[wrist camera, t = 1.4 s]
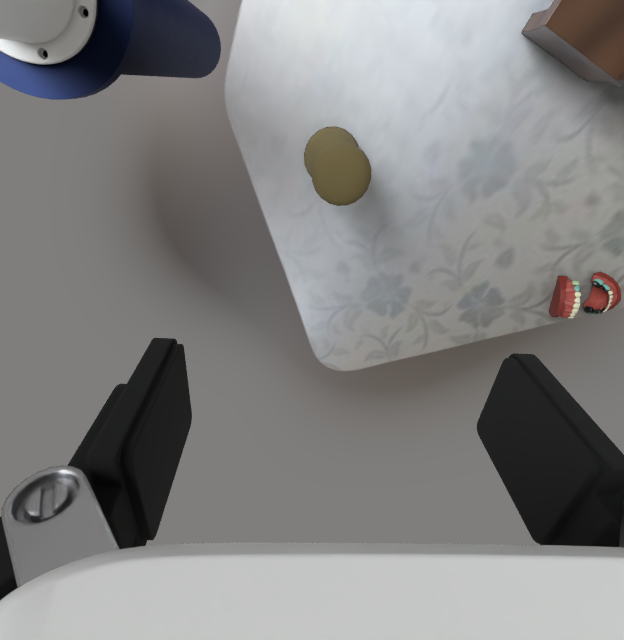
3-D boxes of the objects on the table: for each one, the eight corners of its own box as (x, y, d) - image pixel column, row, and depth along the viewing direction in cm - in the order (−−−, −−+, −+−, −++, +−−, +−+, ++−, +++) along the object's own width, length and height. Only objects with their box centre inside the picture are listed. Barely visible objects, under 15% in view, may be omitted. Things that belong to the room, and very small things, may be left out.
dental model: (619, 322, 50) (556, 328, 50) (597, 306, 53) (539, 312, 53) (633, 283, 47) (566, 289, 47) (609, 269, 50) (547, 275, 51)
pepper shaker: (331, 112, 39) (343, 122, 30) (371, 155, 42) (394, 176, 32) (292, 159, 41) (292, 182, 32) (332, 197, 44) (343, 228, 34)
